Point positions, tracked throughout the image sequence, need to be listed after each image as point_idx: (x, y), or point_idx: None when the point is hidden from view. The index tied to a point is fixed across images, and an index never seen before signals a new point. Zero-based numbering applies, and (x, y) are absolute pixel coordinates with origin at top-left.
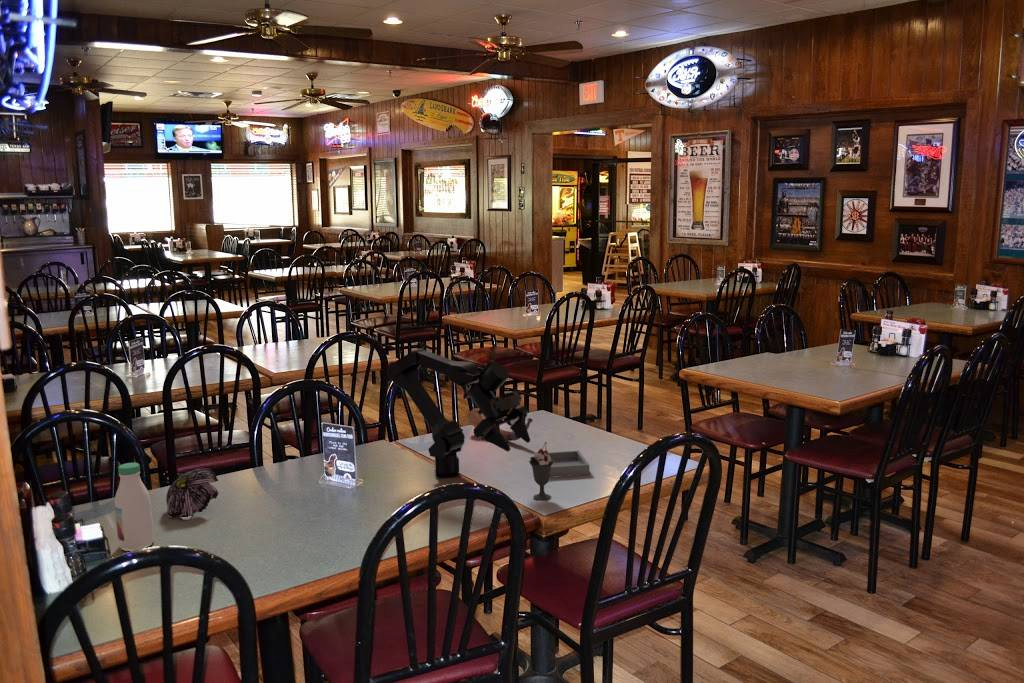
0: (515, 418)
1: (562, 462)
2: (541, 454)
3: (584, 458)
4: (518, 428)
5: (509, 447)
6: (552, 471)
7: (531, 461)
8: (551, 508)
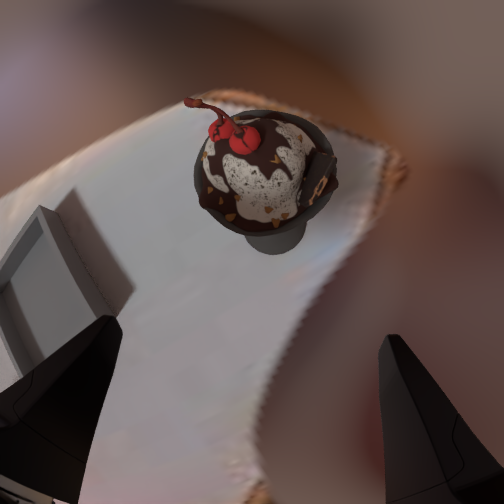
0: (5, 496)
1: (23, 315)
2: (282, 125)
3: (11, 244)
4: (58, 443)
5: (394, 344)
6: (89, 292)
7: (300, 209)
8: (334, 154)
